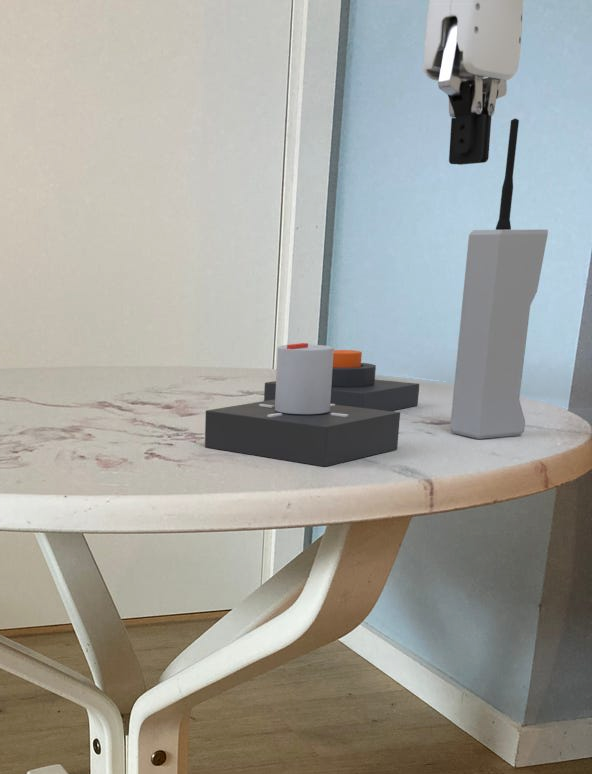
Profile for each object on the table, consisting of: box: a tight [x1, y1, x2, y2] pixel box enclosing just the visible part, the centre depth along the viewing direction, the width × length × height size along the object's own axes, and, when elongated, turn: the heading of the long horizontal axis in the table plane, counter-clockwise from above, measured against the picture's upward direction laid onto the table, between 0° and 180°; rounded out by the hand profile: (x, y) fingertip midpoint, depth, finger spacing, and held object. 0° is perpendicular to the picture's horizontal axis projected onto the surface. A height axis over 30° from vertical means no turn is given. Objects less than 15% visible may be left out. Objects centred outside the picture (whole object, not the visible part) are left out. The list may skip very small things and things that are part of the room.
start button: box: [333, 349, 363, 368], centre depth 112 cm, size 4×4×2 cm
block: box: [263, 362, 420, 411], centre depth 113 cm, size 12×10×4 cm
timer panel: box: [204, 399, 401, 468], centre depth 90 cm, size 12×10×3 cm
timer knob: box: [275, 342, 335, 415], centre depth 88 cm, size 4×4×5 cm
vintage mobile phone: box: [449, 117, 549, 440], centre depth 92 cm, size 4×5×25 cm
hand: (468, 162), depth 104 cm, fingers closed
